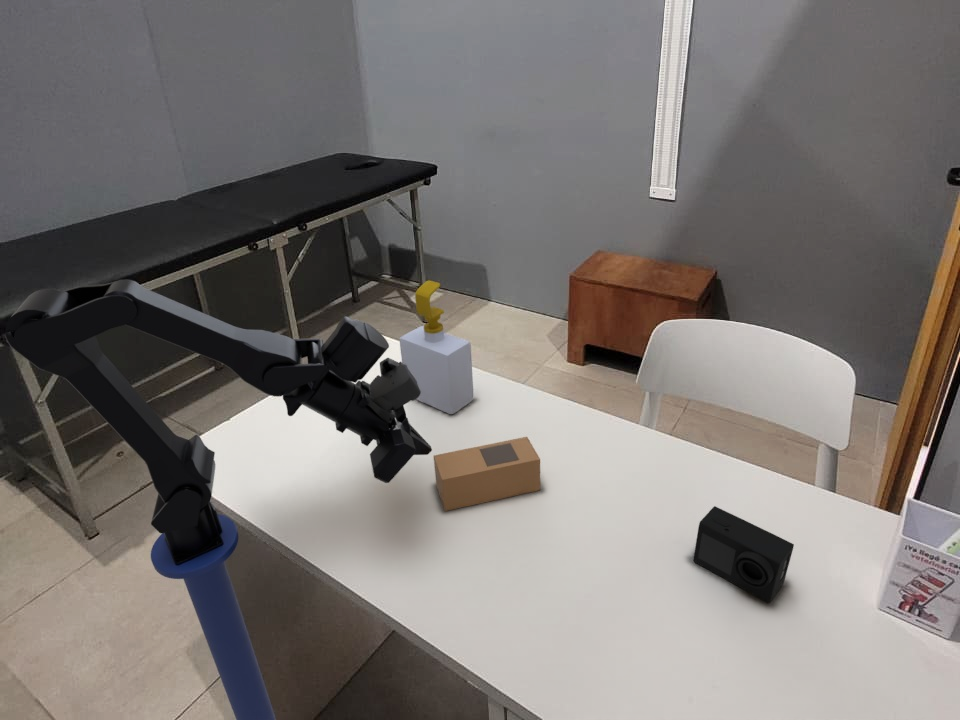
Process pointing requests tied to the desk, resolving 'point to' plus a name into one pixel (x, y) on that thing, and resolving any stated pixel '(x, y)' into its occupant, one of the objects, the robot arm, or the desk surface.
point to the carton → (487, 473)
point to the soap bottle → (437, 358)
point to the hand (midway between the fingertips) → (429, 450)
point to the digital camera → (742, 553)
